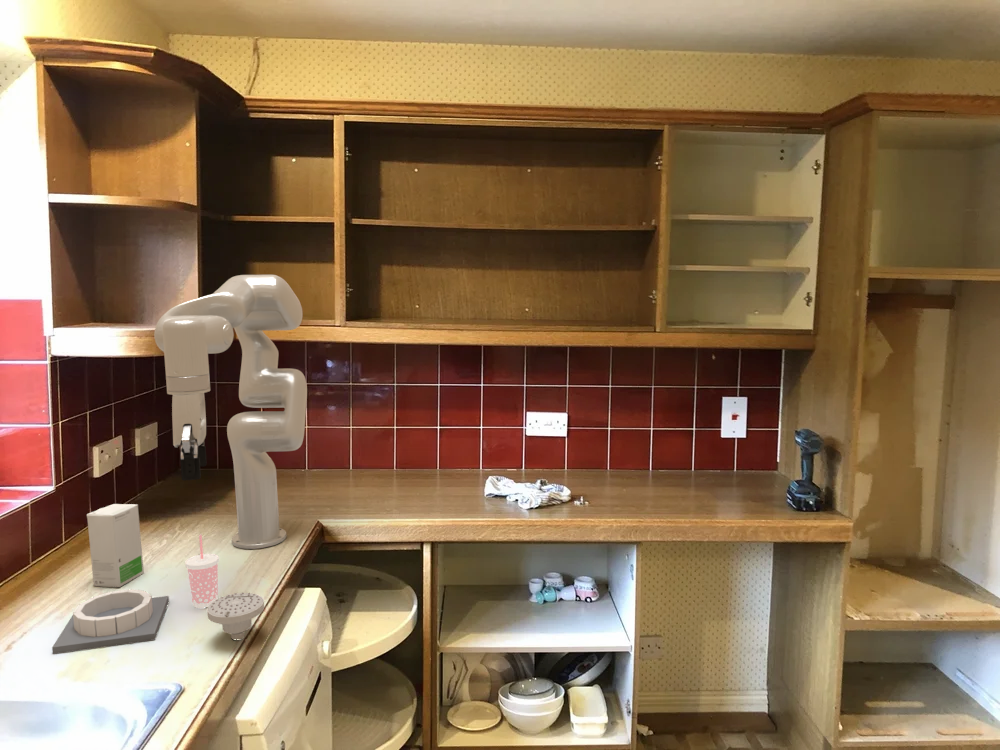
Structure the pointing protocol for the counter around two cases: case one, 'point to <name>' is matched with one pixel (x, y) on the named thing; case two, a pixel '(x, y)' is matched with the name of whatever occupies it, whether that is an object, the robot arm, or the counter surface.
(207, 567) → the beverage cup
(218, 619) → the showerhead
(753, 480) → the counter surface
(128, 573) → the skincare box
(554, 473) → the counter surface
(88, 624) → the ring holder
